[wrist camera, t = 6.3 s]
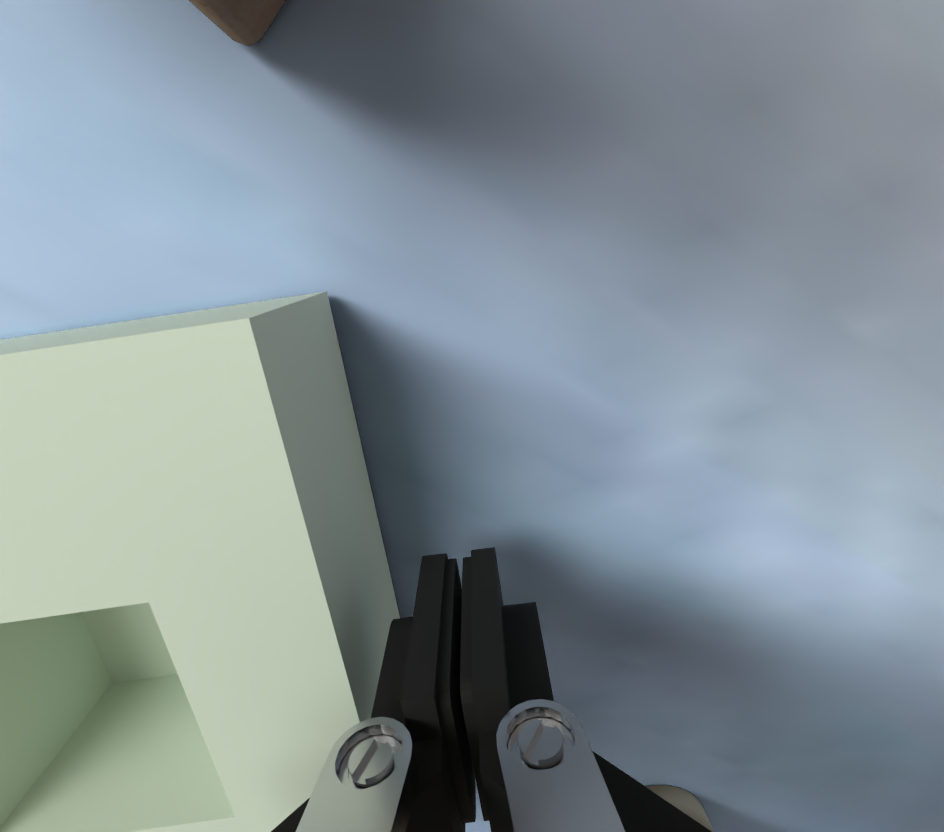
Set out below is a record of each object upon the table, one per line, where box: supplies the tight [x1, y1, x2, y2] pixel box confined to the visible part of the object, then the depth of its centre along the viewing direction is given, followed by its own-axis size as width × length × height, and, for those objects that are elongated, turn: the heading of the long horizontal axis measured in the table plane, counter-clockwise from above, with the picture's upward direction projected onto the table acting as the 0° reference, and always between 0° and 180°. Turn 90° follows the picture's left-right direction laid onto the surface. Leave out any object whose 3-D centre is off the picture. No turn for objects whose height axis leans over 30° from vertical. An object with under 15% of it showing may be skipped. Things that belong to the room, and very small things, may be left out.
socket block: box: [0, 291, 400, 832], centre depth 12 cm, size 12×14×5 cm
